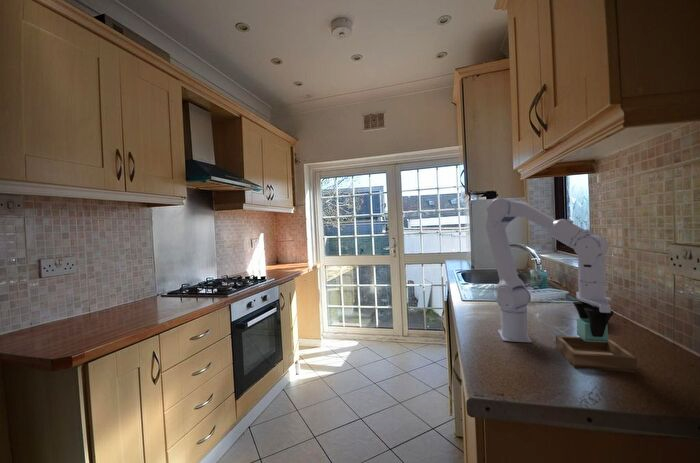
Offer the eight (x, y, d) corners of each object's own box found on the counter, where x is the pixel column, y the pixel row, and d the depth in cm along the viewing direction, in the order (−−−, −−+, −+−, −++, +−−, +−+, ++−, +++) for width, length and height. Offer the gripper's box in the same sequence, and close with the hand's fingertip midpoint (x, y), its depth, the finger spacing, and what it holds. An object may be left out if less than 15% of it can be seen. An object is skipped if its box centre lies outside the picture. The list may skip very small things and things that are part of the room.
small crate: (577, 334, 88) (576, 318, 88) (598, 335, 87) (598, 318, 87) (585, 341, 83) (584, 323, 83) (608, 342, 82) (607, 324, 82)
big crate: (555, 347, 93) (555, 335, 93) (609, 351, 90) (608, 338, 90) (574, 367, 81) (574, 354, 80) (636, 372, 77) (636, 358, 77)
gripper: (625, 286, 76) (626, 343, 77) (596, 276, 90) (597, 324, 91) (590, 286, 78) (591, 341, 79) (567, 276, 92) (568, 323, 93)
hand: (592, 332), depth 85 cm, fingers closed on small crate, 5 cm apart
